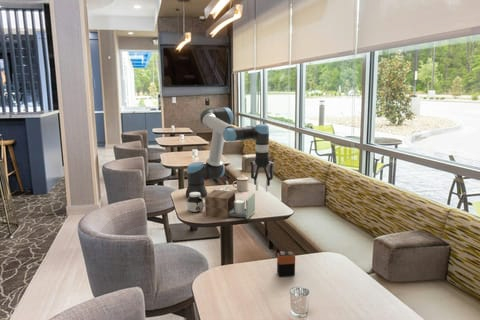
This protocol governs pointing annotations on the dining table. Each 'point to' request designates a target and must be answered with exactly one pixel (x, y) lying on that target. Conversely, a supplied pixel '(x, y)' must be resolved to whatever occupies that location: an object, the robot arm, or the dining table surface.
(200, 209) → the spread jar
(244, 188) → the teacup with lid
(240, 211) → the shot glass
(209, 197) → the box
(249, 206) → the pale green angular block
